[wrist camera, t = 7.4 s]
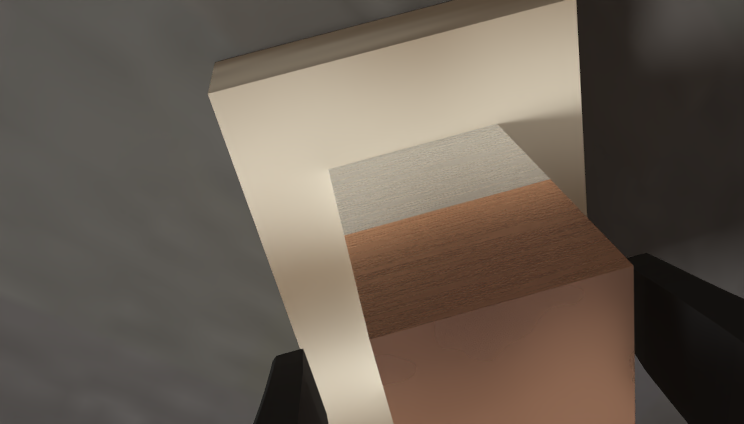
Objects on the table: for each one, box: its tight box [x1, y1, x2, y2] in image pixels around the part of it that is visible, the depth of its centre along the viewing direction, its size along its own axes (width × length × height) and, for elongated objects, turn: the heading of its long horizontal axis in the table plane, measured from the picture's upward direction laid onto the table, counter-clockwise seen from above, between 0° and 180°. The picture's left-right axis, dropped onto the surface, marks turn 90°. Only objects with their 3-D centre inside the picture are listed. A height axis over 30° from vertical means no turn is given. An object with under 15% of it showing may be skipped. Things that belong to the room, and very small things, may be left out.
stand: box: [208, 0, 587, 424], centre depth 17 cm, size 12×8×2 cm, turn 12°
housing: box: [328, 124, 635, 424], centre depth 13 cm, size 7×4×6 cm, turn 12°
